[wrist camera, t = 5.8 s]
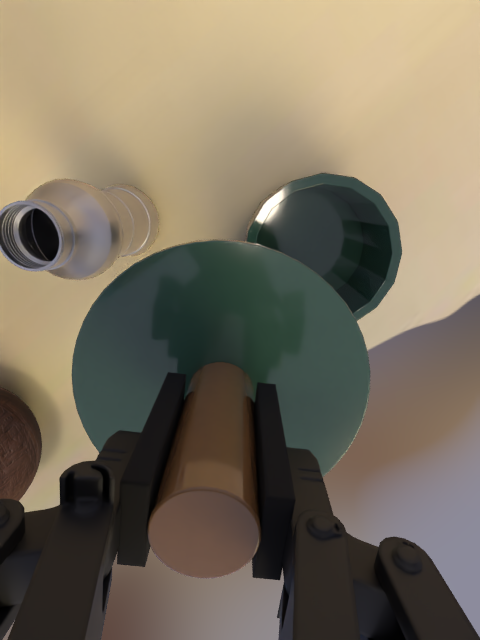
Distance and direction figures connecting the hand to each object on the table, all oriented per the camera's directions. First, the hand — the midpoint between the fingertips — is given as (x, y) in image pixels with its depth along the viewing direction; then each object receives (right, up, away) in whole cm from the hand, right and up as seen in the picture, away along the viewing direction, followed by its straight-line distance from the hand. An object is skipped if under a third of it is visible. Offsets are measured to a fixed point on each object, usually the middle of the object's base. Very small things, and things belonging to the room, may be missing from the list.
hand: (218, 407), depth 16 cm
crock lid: (0, +1, +2) cm, 2 cm away
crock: (+8, +11, +24) cm, 28 cm away
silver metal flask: (-10, +14, +24) cm, 29 cm away
